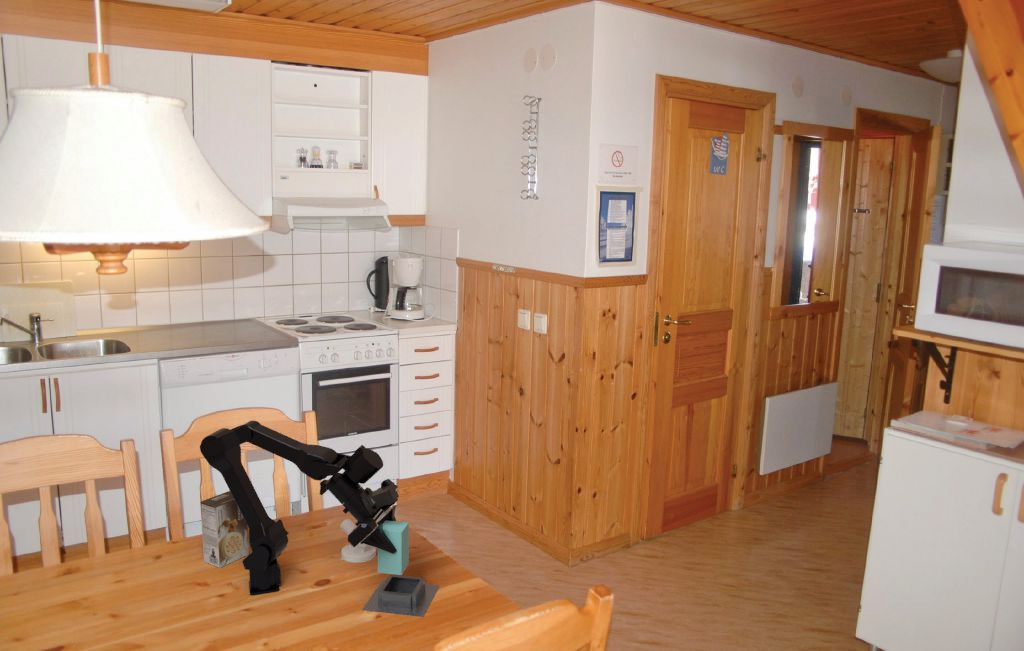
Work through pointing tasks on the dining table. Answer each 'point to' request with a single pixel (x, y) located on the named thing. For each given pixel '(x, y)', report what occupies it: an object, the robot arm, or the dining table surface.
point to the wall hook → (358, 552)
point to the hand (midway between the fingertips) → (399, 546)
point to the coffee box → (223, 530)
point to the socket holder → (402, 596)
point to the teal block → (400, 540)
